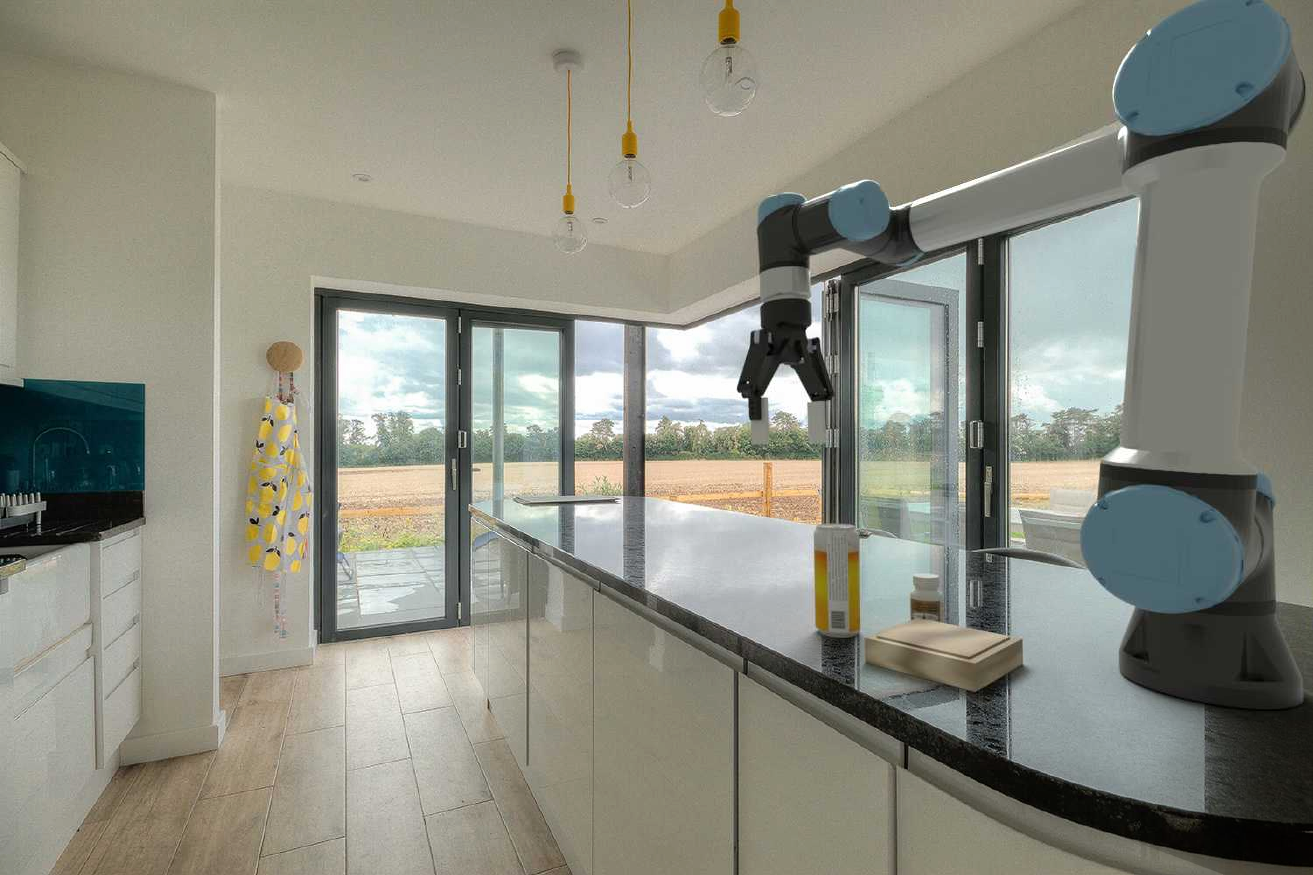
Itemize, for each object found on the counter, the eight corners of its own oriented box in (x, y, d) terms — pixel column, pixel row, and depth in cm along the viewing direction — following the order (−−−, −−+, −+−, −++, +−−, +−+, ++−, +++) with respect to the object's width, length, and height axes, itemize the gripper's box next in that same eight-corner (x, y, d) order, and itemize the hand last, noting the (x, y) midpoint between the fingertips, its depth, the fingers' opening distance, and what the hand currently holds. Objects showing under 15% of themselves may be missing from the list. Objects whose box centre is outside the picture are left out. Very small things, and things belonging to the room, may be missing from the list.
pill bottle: (908, 632, 90) (907, 577, 91) (912, 624, 94) (911, 571, 94) (943, 636, 88) (941, 579, 89) (945, 628, 92) (944, 573, 92)
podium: (1023, 663, 77) (1022, 636, 77) (975, 692, 68) (974, 661, 68) (918, 640, 87) (917, 616, 87) (865, 662, 78) (864, 635, 78)
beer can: (855, 626, 94) (853, 523, 94) (864, 639, 88) (862, 528, 88) (812, 626, 94) (810, 523, 95) (819, 638, 88) (816, 528, 88)
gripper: (813, 316, 108) (818, 443, 107) (708, 295, 91) (713, 445, 91) (853, 308, 102) (858, 442, 101) (749, 283, 86) (754, 443, 85)
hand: (790, 443), depth 96 cm, fingers open, 13 cm apart
